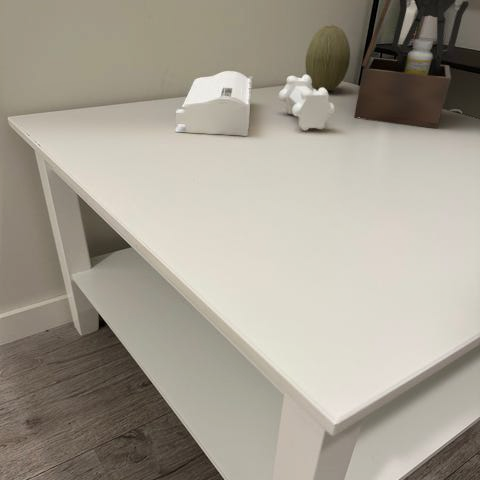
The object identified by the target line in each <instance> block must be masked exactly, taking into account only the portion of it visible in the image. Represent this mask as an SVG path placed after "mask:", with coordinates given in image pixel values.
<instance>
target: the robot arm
mask: <svg viewBox="0 0 480 480" xmlns="http://www.w3.org/2000/svg"><path fill="white" fill-rule="evenodd" d="M412 1H414V4H415V6H416V9H417V13H416V14H415V17H414V19H413V21H412V23H411V26H410V27H409V29H408V31H407V34H406V36H405V37H404V39H403V42H402V43H401V45H400V44H399V42H400V38H401V34H402V30H403V26H404V23H405V18H406V14H407V10H408V8H409V7H410V6H411V3H412ZM453 4H454V5H455V6H454V11H455V16H454V20H453V24H452V28H451V31H450V36H449V39H448V43H447V48H446V49H444V23H445V22H444V19H445V16H444V15H445V13H446V12H447V11H448V10H449V9H450V8H451V7H452V6H453ZM468 7H469V1H468V0H399V10H400V11H399V15H398V18H397V22H396V27H395V30H394V34H393V38H392V43H391V47H390V49H391V51H393V52H394V53H396V54H397V58H396V60H397V63H396V67H395V70H396V71H400V72H404V67H405V63H406V59H407V55H408V53H406V51H407V49H408V47H409V45H410V42H411V41H412V39H413V37H414V35H415V32H416V31H417V29H418V27H419V25H420V23H421V21H422V19H423V17H432V18H436V56H433V58H432V63H431V67H430V70H429V74H428V75H431V76H432V75H437V74H438V72H439V69H440V65H442V61H443V59H445V58H448V57H452V56H453V55H454V50H455V47H456V43H457V39H458V35H459V31H460V27H461V23H462V18H463V15H464V13H465V12H466V10H467V9H468Z"/></svg>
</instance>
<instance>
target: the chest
mask: <svg viewBox="0 0 480 480" xmlns="http://www.w3.org/2000/svg"><path fill="white" fill-rule="evenodd" d="M396 63H397V59H390V58H380V57H372V56H371V58H370V60H369V61H368V63H367V65H366V67H364V66H363V69H362V73H361V78H360V84H359V88H358V93H357V94H358V95H357V99H356V104H355V109H354V116H353V118H354V117H360V118H366V119H365V120H368V119H371V120H370V121H375V120H377V122H383V123H384V122H385V123H391V124H399V125H405V126H414V127H421V128H427V129H428V128H429V129H435V130H436V129H437V128H438V125H439V123H440V118H441V114H442V112H443V108H444V104H445V101H446V98H447V94H448V92H449V91H448V90H449V87H450V84H451V80H452V76H451V70H450V69H451V68H450V65H447V64H441V65H440V69H439V72H438V74H437V75H432V76H431V75H422V74H413V73H404V72H400V71H396V70H395V67H396ZM360 118H359V119H360Z"/></svg>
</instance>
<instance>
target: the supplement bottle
mask: <svg viewBox="0 0 480 480" xmlns="http://www.w3.org/2000/svg"><path fill="white" fill-rule="evenodd" d="M433 44H434V41H433V40H431V39H427V38H425V39H424V38H414V40H413V43H412V50H410V51H408V53H407V54H408V55H407V59H406V63H405V67H404V73H413V74H422V75H428V74H429V70H430V67H431V63H432V58H433V57H434V55H433V53H432V52H431V50H432V48H433Z"/></svg>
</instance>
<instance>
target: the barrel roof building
mask: <svg viewBox="0 0 480 480" xmlns="http://www.w3.org/2000/svg"><path fill="white" fill-rule="evenodd" d="M252 88H253V76H249V77H247V76H246V75H245V74H242V73H241V72H238V71H237V70H236V71H235V70H234V71H232V70H226V71H220V72H219V73H216V74H213V75H211V76H203V77H198V78H195V79H194V80H193V83H192V84H191V87H190V89H189V91H188V92H187V96H186V98H185V100H184V102H183V104H182V106H181V109H180V108H176V111H175V125H177V126H176V128H175V131H174V132H175V133H189V134H207V135H225V136H243V137H248V136H249V130H250V112H251V105H252V92H253V91H252ZM222 93H223V95H222ZM229 94H230V95H229ZM182 108H184V109H182Z"/></svg>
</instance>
